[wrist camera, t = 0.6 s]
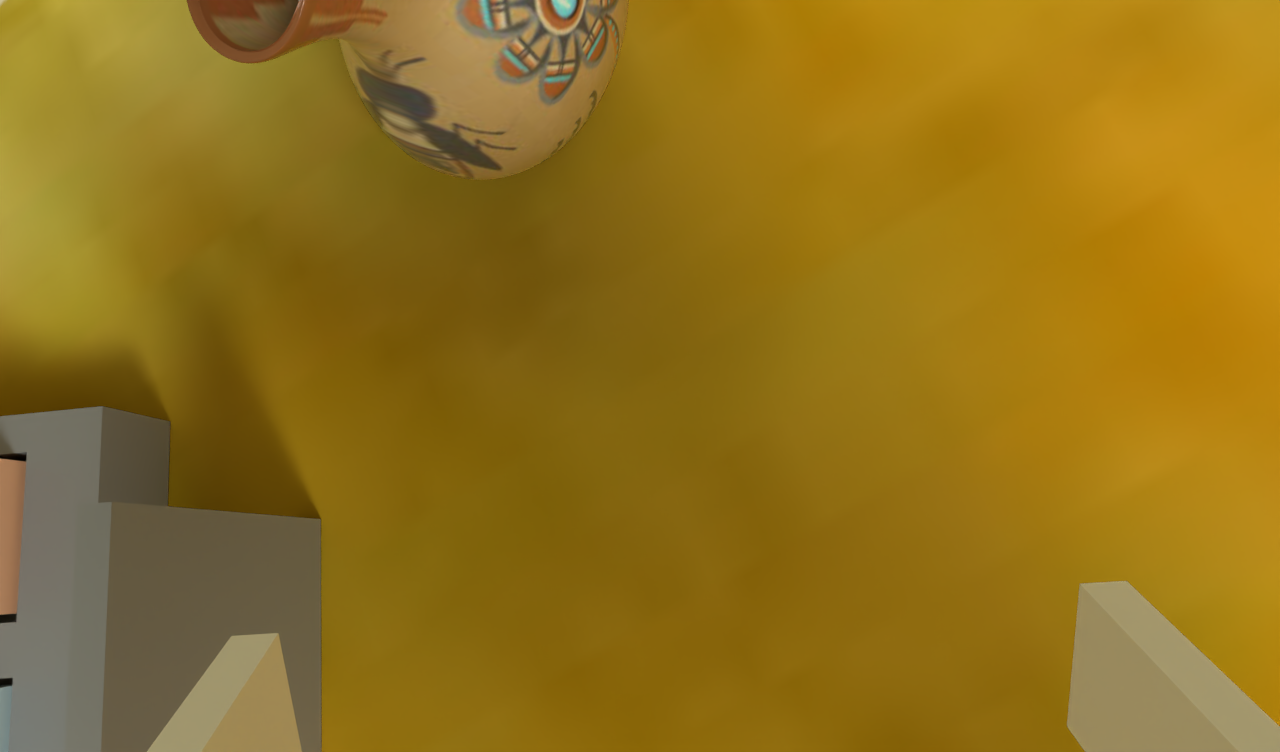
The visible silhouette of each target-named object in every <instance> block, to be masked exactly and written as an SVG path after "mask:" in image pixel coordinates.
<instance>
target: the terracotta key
mask: <svg viewBox="0 0 1280 752" xmlns="http://www.w3.org/2000/svg"><path fill="white" fill-rule="evenodd" d="M25 475H26V462H24V461H16V460H9V459H1V458H0V615H3V614H16V613H17V603H18V587H19V571H20V555H21V539H22V523H23V507H24V491H25Z"/></svg>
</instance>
